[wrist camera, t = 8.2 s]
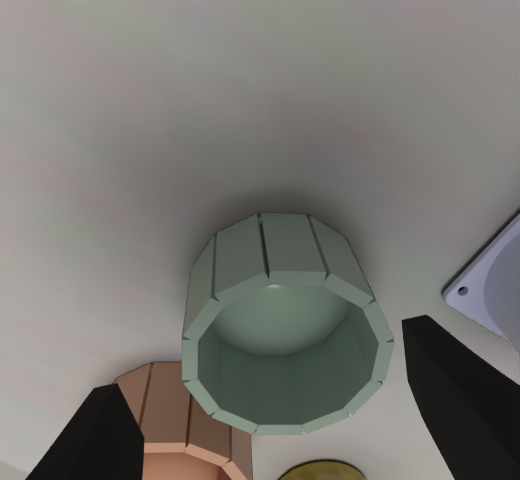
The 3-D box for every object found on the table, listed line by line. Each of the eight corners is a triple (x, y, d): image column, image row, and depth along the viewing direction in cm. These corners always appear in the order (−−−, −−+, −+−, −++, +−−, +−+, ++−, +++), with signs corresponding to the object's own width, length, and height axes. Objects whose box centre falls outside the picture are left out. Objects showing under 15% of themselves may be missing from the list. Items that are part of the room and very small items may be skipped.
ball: (154, 379, 24) (139, 465, 20) (236, 415, 26) (238, 501, 22) (110, 438, 26) (87, 529, 22) (189, 468, 28) (182, 558, 23)
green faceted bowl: (251, 179, 20) (258, 231, 16) (394, 266, 23) (434, 332, 18) (159, 314, 23) (144, 389, 19) (295, 378, 26) (309, 458, 21)
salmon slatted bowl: (142, 339, 24) (123, 417, 20) (276, 399, 26) (286, 481, 22) (74, 438, 27) (44, 526, 22) (201, 484, 29) (196, 571, 25)
